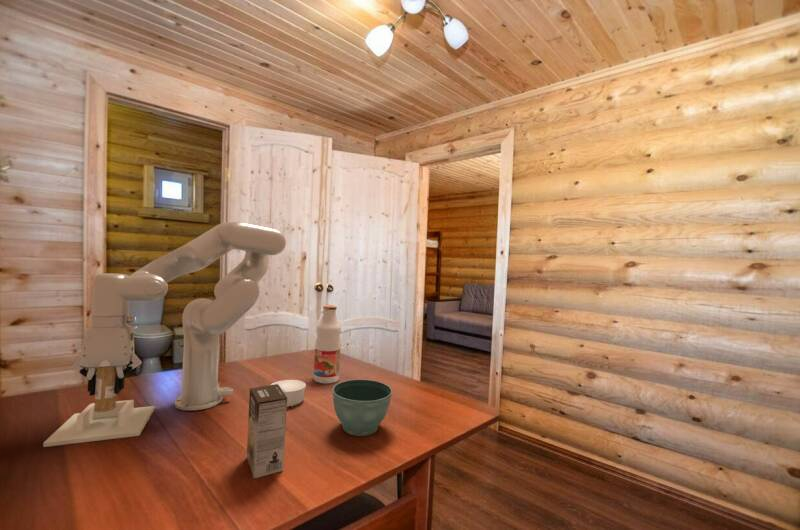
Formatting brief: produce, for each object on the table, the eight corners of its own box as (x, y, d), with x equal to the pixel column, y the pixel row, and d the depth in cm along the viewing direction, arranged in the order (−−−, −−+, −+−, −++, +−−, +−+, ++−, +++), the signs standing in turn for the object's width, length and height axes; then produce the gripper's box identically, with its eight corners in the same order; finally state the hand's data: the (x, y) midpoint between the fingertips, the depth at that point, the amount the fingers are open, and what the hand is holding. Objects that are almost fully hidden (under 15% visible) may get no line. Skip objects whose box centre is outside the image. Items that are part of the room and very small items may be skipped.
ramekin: (260, 404, 110) (260, 387, 110) (284, 392, 120) (285, 377, 120) (289, 412, 106) (290, 394, 106) (312, 399, 116) (312, 383, 116)
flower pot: (398, 422, 103) (400, 384, 103) (376, 449, 88) (378, 405, 87) (347, 411, 108) (349, 375, 108) (318, 435, 93) (321, 393, 93)
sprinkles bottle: (115, 411, 91) (118, 358, 91) (91, 414, 88) (95, 360, 88) (117, 404, 95) (120, 353, 95) (94, 407, 92) (97, 355, 92)
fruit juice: (344, 380, 136) (347, 306, 135) (324, 386, 128) (328, 308, 128) (327, 374, 142) (331, 303, 141) (308, 379, 134) (312, 305, 134)
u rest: (154, 409, 103) (155, 393, 103) (139, 435, 88) (140, 417, 88) (74, 417, 96) (75, 400, 95) (43, 447, 81) (44, 427, 81)
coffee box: (245, 457, 81) (248, 387, 81) (274, 450, 84) (277, 383, 84) (253, 479, 73) (257, 401, 73) (285, 471, 77) (288, 396, 76)
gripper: (152, 319, 98) (149, 385, 98) (74, 319, 92) (70, 390, 92) (145, 324, 91) (141, 395, 91) (60, 324, 85) (56, 401, 85)
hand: (106, 392), depth 91 cm, fingers closed on sprinkles bottle, 4 cm apart
